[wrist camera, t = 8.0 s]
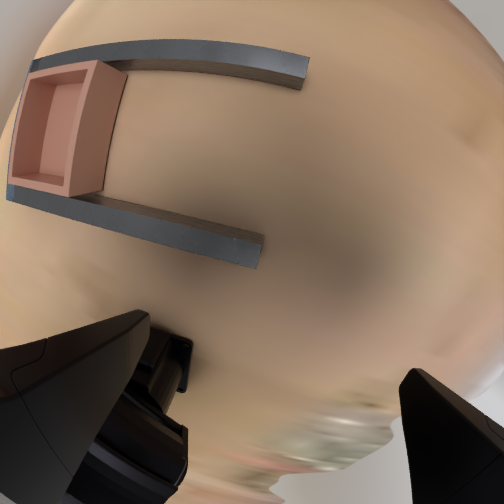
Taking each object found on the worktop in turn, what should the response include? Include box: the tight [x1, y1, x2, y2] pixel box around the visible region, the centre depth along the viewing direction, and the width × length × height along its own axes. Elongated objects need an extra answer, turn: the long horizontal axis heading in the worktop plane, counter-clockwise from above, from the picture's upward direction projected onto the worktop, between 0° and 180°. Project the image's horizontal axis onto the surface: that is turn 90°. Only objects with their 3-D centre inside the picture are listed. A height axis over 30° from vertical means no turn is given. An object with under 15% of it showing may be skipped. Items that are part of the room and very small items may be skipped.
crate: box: [8, 60, 127, 197], centre depth 14 cm, size 9×8×4 cm
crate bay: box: [6, 39, 310, 269], centre depth 15 cm, size 13×23×2 cm, turn 76°
